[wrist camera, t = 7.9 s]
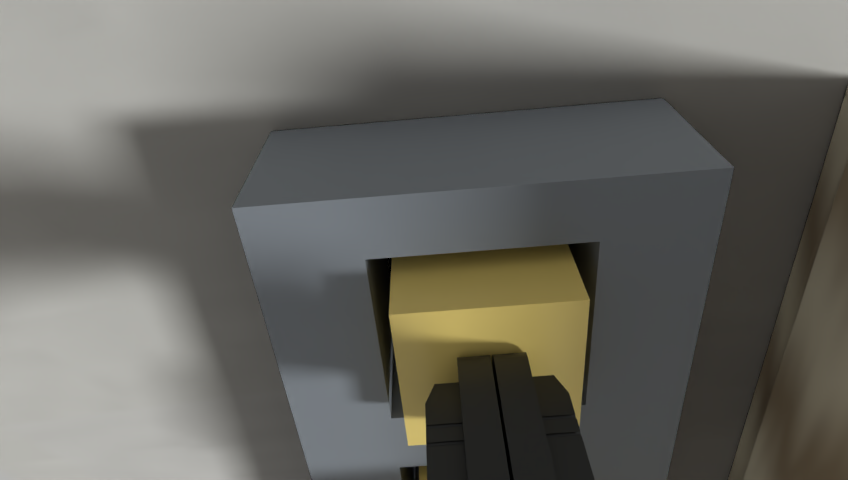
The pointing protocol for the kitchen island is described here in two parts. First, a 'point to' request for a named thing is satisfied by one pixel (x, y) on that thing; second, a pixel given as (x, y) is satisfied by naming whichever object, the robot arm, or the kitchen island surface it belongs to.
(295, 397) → the board
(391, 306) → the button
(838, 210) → the card
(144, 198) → the kitchen island surface
